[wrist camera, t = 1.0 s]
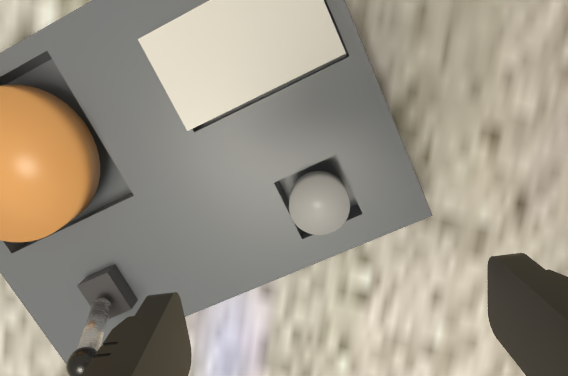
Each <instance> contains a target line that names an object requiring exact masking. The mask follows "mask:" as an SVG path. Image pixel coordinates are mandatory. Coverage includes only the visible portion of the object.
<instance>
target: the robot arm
mask: <svg viewBox="0 0 568 376" xmlns="http://www.w3.org/2000/svg"><path fill="white" fill-rule="evenodd" d="M488 317H489V322H490V325H491V328H492V331H493V333H494V335H495V336H496V338H497V339H498V340H499V342H500V343H501V344H502V345H503V347H504V348H505V349H506V351H507V352H508V353H509V354H510V356H511V357H512V358H513V359H514V361H515V362H516V363H517V364H518V366H519V367H520V368H521V370H522V371H523V372H524V373H525V375H526V376H568V277H566V276H564V275H561V274H559V273H556V272H554V271H552V270H545V269H544V268H543V267H541V266H540V265H539V264H537V263H536V262H535V261H533V260H532V259H531V258H530V257H528V256H527V255H525V254H524V253H518V254H509V255H501V256H492V257H491V258H490V259H489V261H488ZM190 366H191V345H190V340H189V335H188V330H187V326H186V321H185V316H184V312H183V307H182V302H181V299H180V296H179V294H178V293H177V292H173V293H164V294H155V295H148V296H147V297H146V298H145V300H144V301H143V303H142V305H141V306H140V308H139V309H138V311H137V313H136V314H135V316H130V317H127V318H126V319H124V320H123V321H122V322H121V323H119V324H118V325H117V326H116V327H114V328H113V329H112V330H111V332H110V333H109V335H108V336H107V338H106V339H105V341H104V342H103V346H100V348H99V349H98V351H97V352H96V354H95V358H92V360H91V361H90V363H89V364H88V366H87V367H86V369H85V370H84V372H83V373H82V375H81V376H188V374H189V371H190Z"/></svg>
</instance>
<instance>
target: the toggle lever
mask: <svg viewBox="0 0 568 376" xmlns="http://www.w3.org/2000/svg"><path fill="white" fill-rule="evenodd" d="M110 311H111V303H110V301H109V300H108V299H106V298H99V299H97V300H95V301H94V302H93V304H92V306H91V309H90V312H89V315H88V318H87V321H86V324H85V327H84V330H83V333H82V336H81V339H80V342H79V345H78V348H77V350H75V351H74V352H73V353H72V354H71V355H70V356H69V358H68V360H67V365H66V368H67V372H68V374H69V376H81V375H82V373H83V372H84V370H85V369H86V367H87V366H88V364H89V363H90V361H91V360H92V358H95V354H96V352H97V351H98V349H99V348H100V346H101V343H102V339H103V336H104V332H105V329H106V325H107V321H108V318H109V314H110Z"/></svg>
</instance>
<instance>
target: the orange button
mask: <svg viewBox="0 0 568 376" xmlns="http://www.w3.org/2000/svg"><path fill="white" fill-rule="evenodd" d="M99 178H100V160H99V154H98V150H97V146H96V144H95V141H94V138H93V136H92V134H91V132H90V131H89V129H88V127H87V126H86V124H85V123H84V121H83V120H82V119H81V117H80V116H79V115H78V114H77V113H76V112H75V111H74V110H73V109H72V108H71V107H70V106H69V105H68V104H66V103H65V102H64V101H62V100H61V99H59V98H58V97H56V96H54V95H53V94H51V93H49V92H46V91H44V90H42V89H39V88H35V87H31V86H26V85H1V86H0V240H1V241H7V242H29V241H34V240H38V239H41V238H44V237H46V236H49V235H50V234H52V233H54V232H56V231H57V230H58V229H60V228H61V227H63V226H64V225H66V224H67V223H69V222H70V221H71V220H73V219H74V218H76V217H77V216H78V215H80V214H81V213H82V212H83V211H84V210H85V209H86V208H87V207H88V205H89V204H90V202H91V201H92V200H93V197H94V195H95V193H96V191H97V187H98V184H99Z"/></svg>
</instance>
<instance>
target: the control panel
mask: <svg viewBox="0 0 568 376" xmlns="http://www.w3.org/2000/svg"><path fill="white" fill-rule="evenodd" d="M207 1H209V0H92V1H90V2H89V3H87V4H85V5H83V6H82V7H80V8H78V9H76V10H75V11H73V12H71V13H70V14H68V15H66V16H64V17H63V18H61V19H59V20H57V21H56V22H54V23H52V24H50V25H49V26H47V27H45V28H43V29H42V30H40V31H38V32H36V33H35V34H33V35H31V36H29V37H28V38H26V39H24V40H22V41H21V42H19V43H17V44H15V45H14V46H12V47H10V48H8V49H7V50H5V51H3V52H1V53H0V86H1V85H26V86H31V87H35V88H39V89H42V90H44V91H46V92H49V93H51V94H53V95H54V96H56V97H58V98H59V99H61V100H62V101H64V102H65V103H66V104H68V105H69V106H70V107H71V108H72V109H73V110H74V111H75V112H76V113H77V114H78V115H79V116H80V117H81V119H82V120H83V121H84V123H85V124H86V126H87V127H88V129H89V131H90V132H91V134H92V136H93V138H94V141H95V144H96V146H97V150H98V154H99V160H100V178H99V184H98V187H97V191H96V193H95V195H94V197H93V200H92V201H91V202H90V204H89V205H88V207H87V208H86V209H85V210H84V211H83V212H82V213H81V214H80V215H78V216H77V217H76V218H74V219H73V220H71V221H70V222H69V223H67V224H66V225H64V226H63V227H61V228H60V229H58V230H57V231H56V232H54V233H52V234H50V235H49V236H46V237H44V238H41V239H38V240H34V241H29V242H7V241H1V240H0V273H1V274H2V276H3V277H4V278H5V280H6V281H7V282H8V284H9V285H10V287H11V288H12V289H13V291H14V292H15V294H16V295H17V296H18V298H19V299H20V301H21V302H22V303H23V305H24V306H25V307H26V309H27V310H28V312H29V313H30V314H31V316H32V317H33V319H34V320H35V321H36V323H37V324H38V326H39V327H40V328H41V330H42V331H43V332H44V334H45V335H46V337H47V338H48V339H49V341H50V342H51V344H52V345H53V346H54V348H55V349H56V351H57V352H58V353H59V355H60V356H61V357H62V359H63V360H64V362H65V363H66V364H67V360H68V358H69V356H70V355H71V354H72V353H73V352H74V351H75V350H77V348H78V345H79V342H80V339H81V336H82V333H83V330H84V327H85V324H86V321H87V318H88V315H89V312H90V309H91V306H92V304H93V302H94V301H95V300H97V299H99V298H106V299H108V300H109V301H110V303H111V311H110V314H109V318H108V321H107V325H106V329H105V332H104V336H103V339H102V343H101V346H103V342H104V341H105V339H106V338H107V336H108V335H109V333H110V332H111V330H112V329H113V328H114V327H116V326H117V325H118V324H119V323H121V322H122V321H123V320H124V319H126V318H127V317H130V316H135V314H136V313H137V311H138V309H139V308H140V306H141V305H142V303H143V301H144V300H145V298H146V297H147V296H148V295H155V294H164V293H173V292H177V293H178V294H179V296H180V299H181V302H182V307H183V312H184V316H185V317H186V316H188V315H190V314H193V313H195V312H198V311H200V310H203V309H205V308H208V307H210V306H212V305H215V304H217V303H220V302H222V301H225V300H227V299H230V298H232V297H234V296H237V295H239V294H242V293H244V292H247V291H249V290H252V289H254V288H256V287H259V286H261V285H264V284H266V283H269V282H271V281H274V280H276V279H278V278H281V277H283V276H286V275H288V274H291V273H293V272H296V271H298V270H300V269H303V268H305V267H308V266H310V265H313V264H315V263H318V262H320V261H322V260H325V259H327V258H330V257H332V256H335V255H337V254H340V253H342V252H344V251H347V250H349V249H352V248H354V247H357V246H359V245H362V244H364V243H366V242H369V241H371V240H374V239H376V238H379V237H381V236H384V235H386V234H388V233H391V232H393V231H396V230H398V229H401V228H403V227H406V226H408V225H410V224H413V223H415V222H418V221H420V220H423V219H425V218H428V217H430V216H432V213H431V211H430V208H429V206H428V203H427V201H426V199H425V196H424V194H423V191H422V189H421V186H420V184H419V181H418V179H417V177H416V174H415V172H414V169H413V167H412V164H411V162H410V159H409V157H408V155H407V152H406V150H405V147H404V145H403V142H402V140H401V137H400V135H399V132H398V130H397V128H396V125H395V123H394V120H393V118H392V115H391V113H390V110H389V108H388V106H387V103H386V101H385V98H384V96H383V93H382V91H381V88H380V86H379V84H378V81H377V79H376V76H375V74H374V71H373V69H372V66H371V64H370V61H369V59H368V57H367V54H366V52H365V49H364V47H363V44H362V42H361V39H360V37H359V35H358V32H357V30H356V27H355V25H354V22H353V20H352V17H351V15H350V12H349V10H348V8H347V5H346V3H345V0H324V2H325V5H326V7H327V9H328V12H329V14H330V16H331V19H332V21H333V24H334V26H335V28H336V31H337V33H338V36H339V38H340V40H341V43H342V45H343V47H344V50H345V52H346V54H344V55H342V56H340V57H338V58H335V59H333V60H331V61H329V62H327V63H325V64H323V65H321V66H319V67H317V68H315V69H313V70H311V71H309V72H307V73H305V74H303V75H301V76H299V77H297V78H295V79H293V80H291V81H289V82H287V83H285V84H283V85H280V86H278V87H276V88H274V89H272V90H270V91H268V92H266V93H264V94H262V95H260V96H258V97H256V98H254V99H252V100H250V101H248V102H246V103H244V104H242V105H240V106H238V107H236V108H234V109H232V110H230V111H228V112H226V113H223V114H221V115H219V116H217V117H215V118H213V119H211V120H209V121H207V122H205V123H203V124H201V125H199V126H197V127H195V128H193V129H191V130H189V131H187V130H186V128H185V126H184V124H183V122H182V120H181V118H180V117H179V115H178V113H177V111H176V109H175V107H174V106H173V104H172V102H171V100H170V98H169V96H168V94H167V93H166V91H165V89H164V87H163V85H162V83H161V81H160V80H159V78H158V76H157V74H156V72H155V70H154V68H153V67H152V65H151V63H150V61H149V59H148V57H147V56H146V54H145V52H144V50H143V48H142V46H141V44H140V43H139V41H138V39H139V38H141V37H143V36H145V35H146V34H148V33H150V32H152V31H154V30H156V29H158V28H159V27H161V26H163V25H165V24H167V23H169V22H170V21H172V20H174V19H176V18H178V17H180V16H181V15H183V14H185V13H187V12H189V11H191V10H192V9H194V8H196V7H198V6H200V5H202V4H203V3H205V2H207ZM312 171H326V172H329V173H331V174H333V175H335V176H336V177H338V178H339V179H340V180H341V181H342V183H343V184H344V186H345V188H346V191H347V194H348V197H349V201H350V211H349V215H348V218H347V219H346V221H345V223H344V224H343V225H342V226H341V227H340V228H339V229H337V230H336V231H334V232H332V233H329V234H325V235H313V234H309V233H307V232H304V231H303V230H301V229H300V228H299V227H298V226H297V225H296V224H295V223H294V222H293V220H292V218H291V216H290V212H289V200H290V192H291V189H292V187H293V185H294V183H295V182H296V181H297V180H298V179H299V178H300V177H301V176H303V175H304V174H306V173H309V172H312Z"/></svg>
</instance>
